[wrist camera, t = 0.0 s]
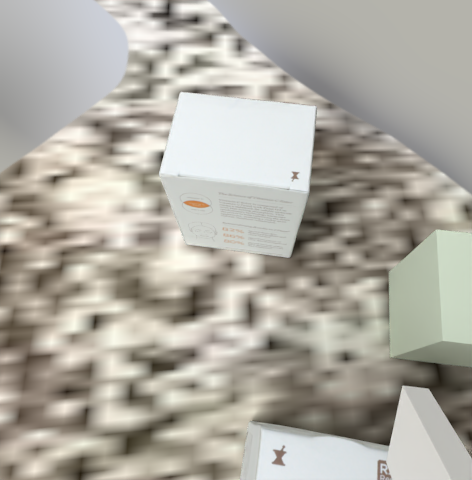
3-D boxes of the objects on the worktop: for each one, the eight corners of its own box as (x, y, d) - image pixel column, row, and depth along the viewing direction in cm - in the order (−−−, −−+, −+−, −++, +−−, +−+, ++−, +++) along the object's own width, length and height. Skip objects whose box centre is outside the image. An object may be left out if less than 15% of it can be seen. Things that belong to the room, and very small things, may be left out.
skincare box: (237, 495, 25) (234, 567, 14) (248, 415, 27) (253, 422, 16) (340, 513, 25) (422, 602, 14) (345, 431, 27) (421, 451, 15)
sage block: (481, 368, 28) (568, 355, 20) (389, 357, 28) (442, 340, 21) (473, 281, 30) (550, 241, 23) (388, 272, 30) (436, 229, 23)
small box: (298, 193, 33) (322, 103, 23) (290, 260, 31) (313, 193, 21) (197, 180, 33) (178, 87, 24) (183, 245, 31) (156, 173, 22)
